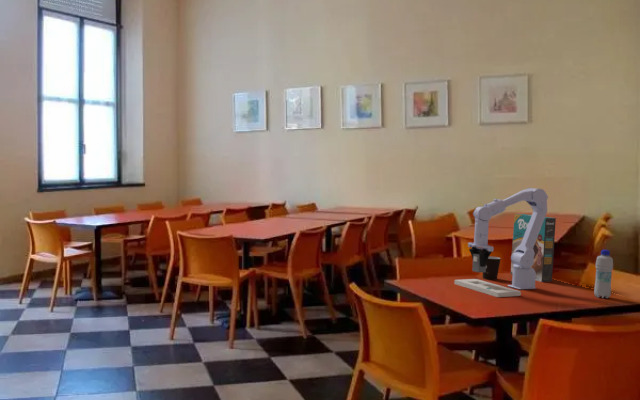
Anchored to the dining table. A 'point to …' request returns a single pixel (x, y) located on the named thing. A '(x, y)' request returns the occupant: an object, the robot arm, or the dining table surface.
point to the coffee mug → (492, 268)
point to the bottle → (603, 274)
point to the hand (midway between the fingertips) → (479, 265)
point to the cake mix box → (537, 245)
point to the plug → (477, 264)
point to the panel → (488, 288)
